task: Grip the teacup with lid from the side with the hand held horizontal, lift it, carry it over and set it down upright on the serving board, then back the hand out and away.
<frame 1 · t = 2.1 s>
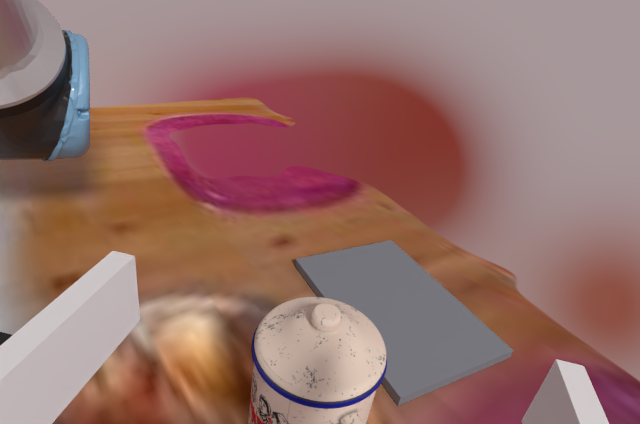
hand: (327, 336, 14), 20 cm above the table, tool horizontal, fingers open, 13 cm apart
serving board: (392, 307, 46), on the table
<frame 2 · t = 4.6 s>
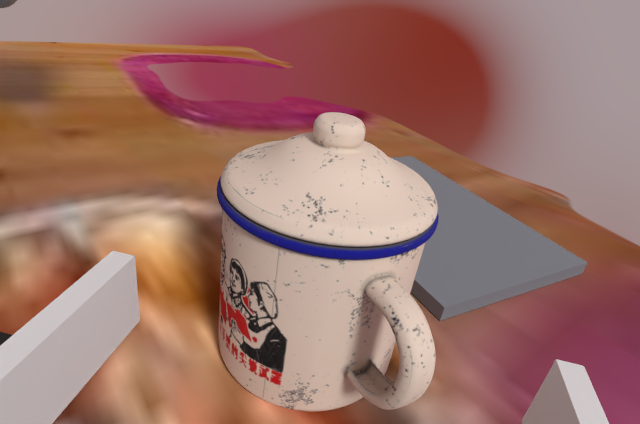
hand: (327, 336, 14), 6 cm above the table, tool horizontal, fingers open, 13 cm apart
teacup with lid: (317, 364, 21), on the table
serving board: (420, 219, 35), on the table
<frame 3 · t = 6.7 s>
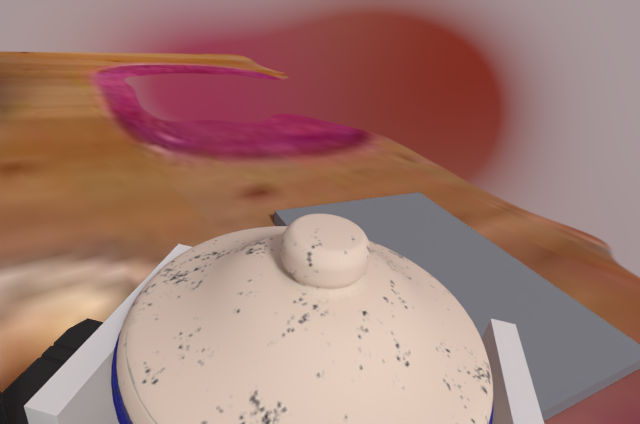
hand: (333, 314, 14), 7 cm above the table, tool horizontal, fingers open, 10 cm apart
serving board: (431, 283, 28), on the table
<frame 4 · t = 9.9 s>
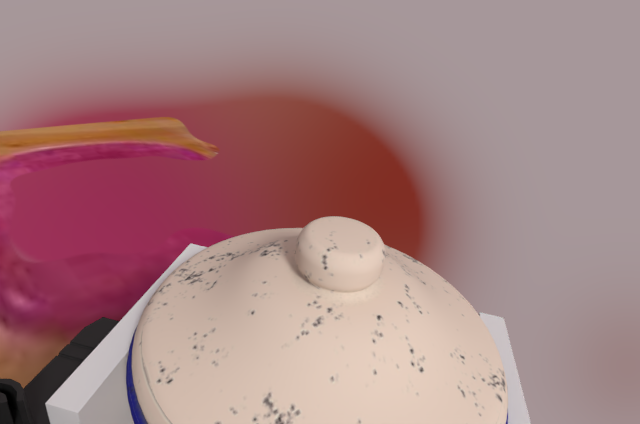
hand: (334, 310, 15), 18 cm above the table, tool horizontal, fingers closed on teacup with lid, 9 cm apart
when the fingers open (9 cm above the table, at t = 12.7 s): teacup with lid drops 1 cm, resting on serving board.
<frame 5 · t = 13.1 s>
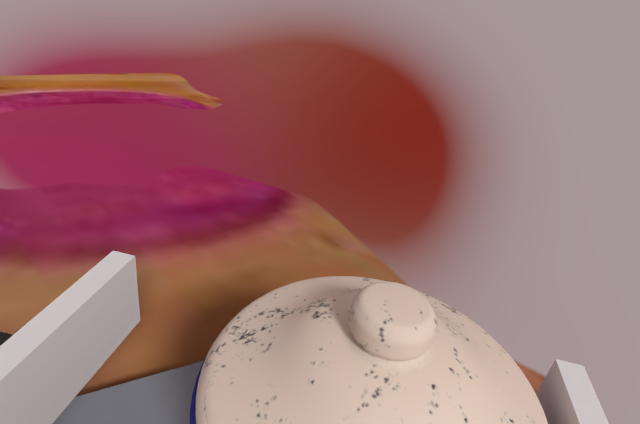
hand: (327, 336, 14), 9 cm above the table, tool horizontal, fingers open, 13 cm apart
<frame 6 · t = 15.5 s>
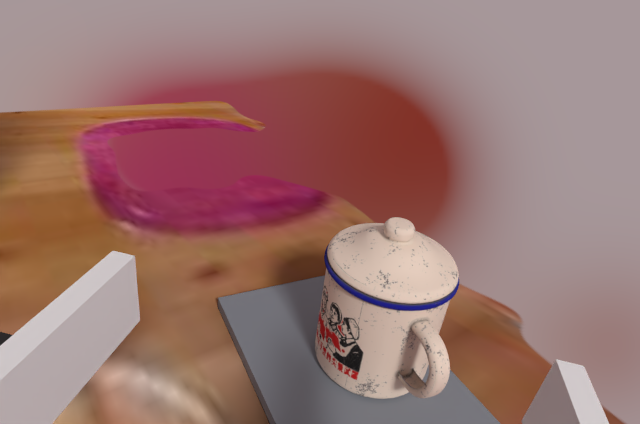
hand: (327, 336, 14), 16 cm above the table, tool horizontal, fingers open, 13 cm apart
teacup with lid: (377, 370, 32), point 1 cm above the table, touching serving board
serving board: (345, 369, 33), on the table
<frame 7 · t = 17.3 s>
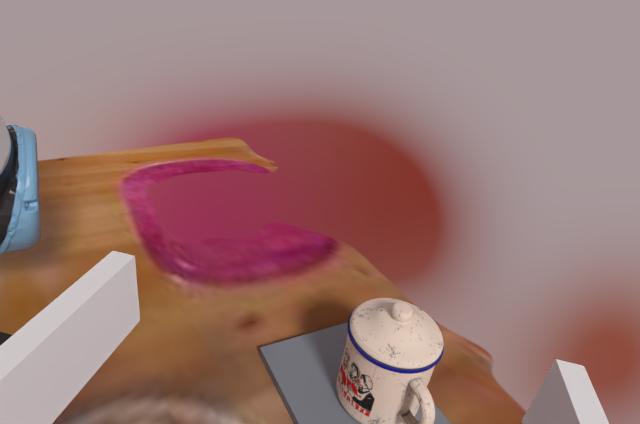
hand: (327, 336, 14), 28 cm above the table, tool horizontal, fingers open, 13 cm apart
teacup with lid: (382, 406, 44), point 1 cm above the table, touching serving board
serving board: (358, 405, 44), on the table
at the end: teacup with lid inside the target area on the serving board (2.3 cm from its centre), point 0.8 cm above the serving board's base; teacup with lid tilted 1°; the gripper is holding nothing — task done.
